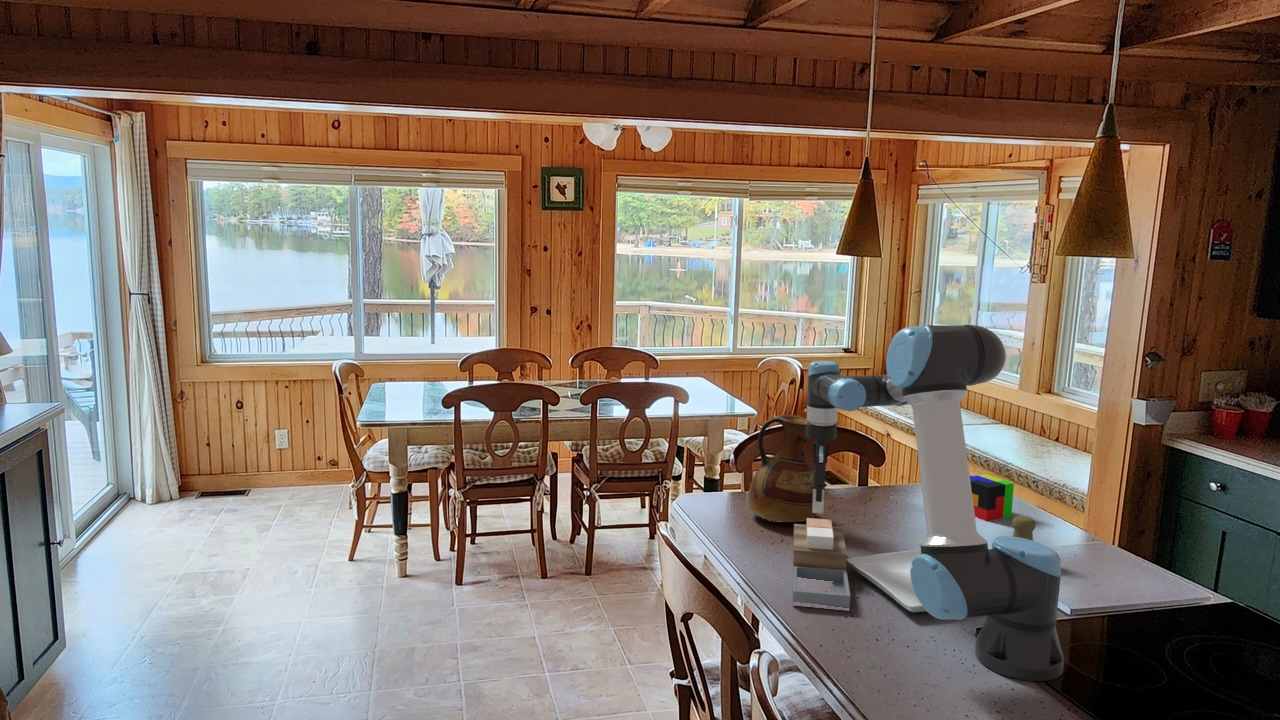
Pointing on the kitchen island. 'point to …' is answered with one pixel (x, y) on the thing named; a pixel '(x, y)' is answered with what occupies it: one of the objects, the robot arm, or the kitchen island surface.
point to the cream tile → (820, 538)
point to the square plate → (891, 575)
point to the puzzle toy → (991, 497)
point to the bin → (823, 598)
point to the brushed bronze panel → (819, 551)
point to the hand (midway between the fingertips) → (817, 512)
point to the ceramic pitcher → (784, 476)
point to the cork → (1023, 527)
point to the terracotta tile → (818, 523)
